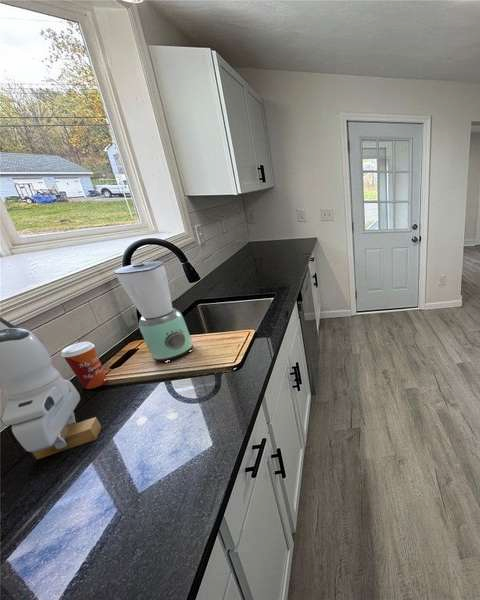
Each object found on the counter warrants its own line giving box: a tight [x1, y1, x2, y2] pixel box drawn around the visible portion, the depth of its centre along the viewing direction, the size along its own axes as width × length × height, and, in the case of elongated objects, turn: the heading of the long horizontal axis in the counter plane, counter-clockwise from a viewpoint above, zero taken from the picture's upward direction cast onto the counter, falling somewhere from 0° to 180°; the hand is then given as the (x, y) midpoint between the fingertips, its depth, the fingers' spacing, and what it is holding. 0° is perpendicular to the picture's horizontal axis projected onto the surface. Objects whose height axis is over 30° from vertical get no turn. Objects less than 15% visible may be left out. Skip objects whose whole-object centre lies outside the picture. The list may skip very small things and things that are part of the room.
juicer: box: [113, 260, 194, 363], centre depth 111 cm, size 19×13×35 cm
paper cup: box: [60, 341, 108, 390], centre depth 100 cm, size 8×8×14 cm
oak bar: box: [31, 416, 102, 460], centre depth 78 cm, size 11×5×4 cm, turn 120°
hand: (68, 437), depth 78 cm, fingers closed on oak bar, 5 cm apart
